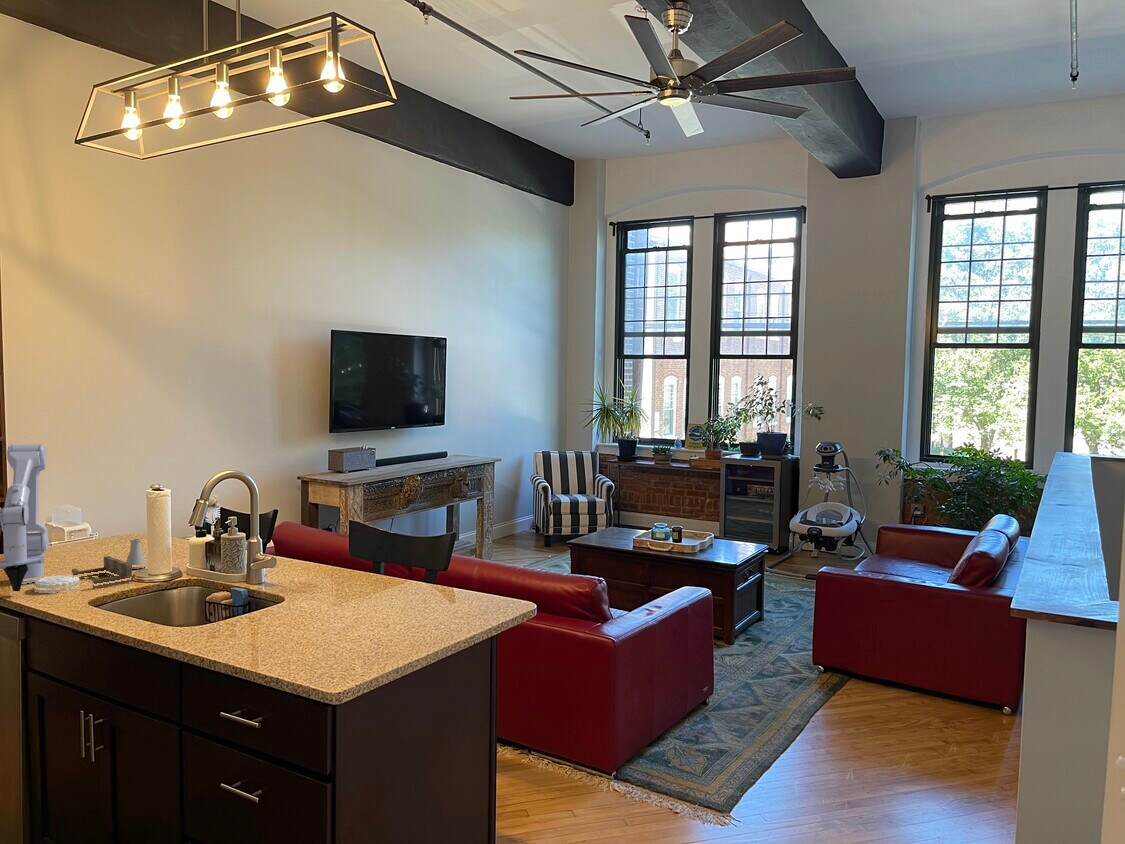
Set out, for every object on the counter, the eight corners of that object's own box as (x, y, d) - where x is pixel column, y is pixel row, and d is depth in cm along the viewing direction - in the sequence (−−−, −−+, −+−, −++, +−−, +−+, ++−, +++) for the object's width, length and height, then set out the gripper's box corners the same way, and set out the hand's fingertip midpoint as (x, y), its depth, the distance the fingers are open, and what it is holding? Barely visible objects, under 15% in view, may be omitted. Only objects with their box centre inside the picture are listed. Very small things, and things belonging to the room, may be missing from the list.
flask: (151, 566, 288) (151, 537, 287) (139, 571, 281) (138, 541, 280) (132, 565, 288) (131, 537, 288) (119, 570, 281) (118, 541, 281)
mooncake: (35, 596, 248) (35, 584, 248) (33, 588, 257) (32, 577, 257) (81, 591, 255) (81, 579, 255) (77, 583, 264) (77, 572, 264)
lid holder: (71, 579, 267) (70, 561, 267) (108, 573, 276) (108, 556, 276) (93, 589, 256) (93, 570, 255) (132, 582, 264) (131, 564, 264)
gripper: (-9, 551, 239) (-8, 597, 239) (47, 544, 250) (48, 588, 251) (-17, 548, 243) (-16, 593, 244) (38, 541, 254) (40, 584, 255)
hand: (16, 590), depth 248 cm, fingers closed
